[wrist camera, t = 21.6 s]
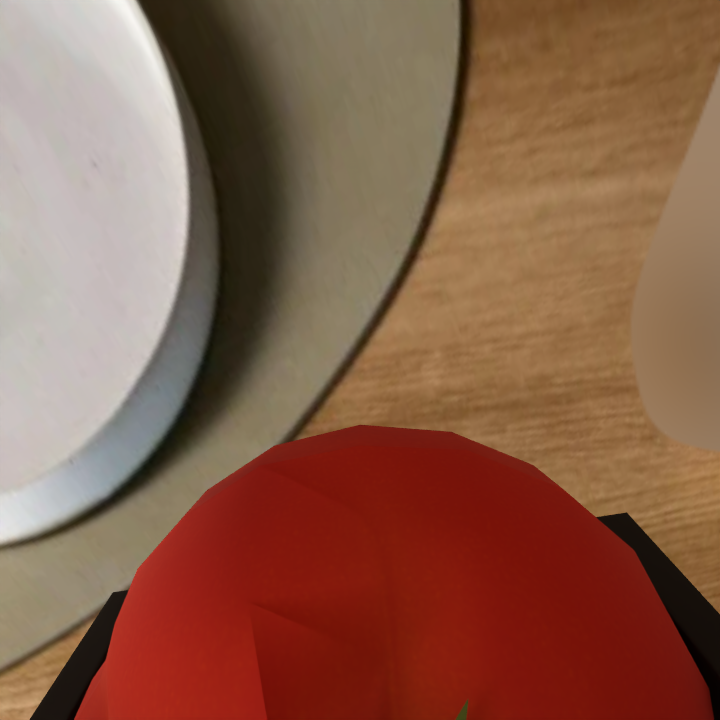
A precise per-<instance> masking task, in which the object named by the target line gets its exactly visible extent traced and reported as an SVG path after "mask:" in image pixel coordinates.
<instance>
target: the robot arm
mask: <svg viewBox="0 0 720 720" xmlns="http://www.w3.org/2000/svg"><path fill="white" fill-rule="evenodd" d="M596 518H597V519H598V520H600V521H601V522H602V523H603V524H604V525H605V526H607V527H608V528H609V529H610V530H611V531H612V532H614V533H615V534H616V535H617V536H618V537H619V538H621V539H622V540H623V541H624V542H625V543H626V544H628V545H629V546H630V547H631V548H632V549H633V550H634V551H635V553H636V554H637V556H638V558H639V560H640V562H641V564H642V566H643V567H644V569H645V571H646V573H647V575H648V577H649V579H650V580H651V582H652V584H653V586H654V588H655V590H656V591H657V593H658V595H659V597H660V599H661V601H662V603H663V604H664V606H665V608H666V610H667V612H668V614H669V616H670V617H671V619H672V621H673V623H674V625H675V627H676V628H677V630H678V632H679V634H680V636H681V638H682V640H683V641H684V643H685V645H686V647H687V649H688V651H689V653H690V654H691V656H692V658H693V660H694V662H695V664H696V665H697V667H698V669H699V671H700V673H701V675H702V677H703V678H704V680H705V682H706V684H707V686H708V688H709V691H710V697H711V703H712V709H713V715H714V720H720V614H719V613H718V612H717V611H716V610H715V609H714V608H713V607H712V605H711V604H710V603H709V602H708V601H707V600H706V599H705V598H704V597H703V596H702V594H701V593H700V592H699V591H698V590H697V589H696V588H695V587H694V586H693V585H692V584H691V582H690V581H689V580H688V579H687V578H686V577H685V576H684V575H683V574H682V573H681V571H680V570H679V569H678V568H677V567H676V566H675V565H674V564H673V563H672V562H671V561H670V559H669V558H668V557H667V556H666V555H665V554H664V553H663V552H662V551H661V550H660V549H659V547H658V546H657V545H656V544H655V543H654V542H653V541H652V540H651V539H650V538H649V536H648V535H647V534H646V533H645V532H644V531H643V530H642V529H641V528H640V527H639V526H638V524H637V523H636V522H635V521H634V520H633V519H632V518H631V517H630V516H629V515H628V514H627V513H621V514H614V515H608V516H601V517H596ZM128 591H129V590H126V591H119V592H113V593H112V595H111V596H110V598H109V599H108V601H107V602H106V604H105V605H104V607H103V608H102V610H101V611H100V613H99V615H98V616H97V618H96V619H95V621H94V622H93V624H92V625H91V627H90V628H89V630H88V631H87V633H86V634H85V636H84V637H83V639H82V640H81V642H80V643H79V645H78V647H77V648H76V650H75V651H74V653H73V654H72V656H71V657H70V659H69V660H68V662H67V663H66V665H65V666H64V668H63V669H62V671H61V672H60V674H59V676H58V677H57V679H56V680H55V682H54V683H53V685H52V686H51V688H50V689H49V691H48V692H47V694H46V695H45V697H44V698H43V700H42V701H41V703H40V704H39V706H38V708H37V709H36V711H35V712H34V714H33V715H32V717H31V718H30V720H74V719H75V716H76V714H77V712H78V710H79V708H80V705H81V703H82V701H83V699H84V697H85V694H86V692H87V690H88V688H89V685H90V683H91V681H92V679H93V677H94V676H95V675H96V673H97V672H98V670H99V669H100V667H101V666H102V665H103V663H104V662H105V660H106V657H107V653H108V649H109V645H110V641H111V637H112V633H113V629H114V625H115V622H116V619H117V617H118V615H119V612H120V610H121V608H122V605H123V603H124V600H125V598H126V596H127V593H128Z"/></svg>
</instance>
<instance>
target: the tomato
mask: <svg viewBox="0 0 720 720" xmlns="http://www.w3.org/2000/svg"><path fill="white" fill-rule="evenodd" d="M74 720H714V715H713V709H712V703H711V697H710V691H709V688H708V686H707V684H706V682H705V680H704V678H703V677H702V675H701V673H700V671H699V669H698V667H697V665H696V664H695V662H694V660H693V658H692V656H691V654H690V653H689V651H688V649H687V647H686V645H685V643H684V641H683V640H682V638H681V636H680V634H679V632H678V630H677V628H676V627H675V625H674V623H673V621H672V619H671V617H670V616H669V614H668V612H667V610H666V608H665V606H664V604H663V603H662V601H661V599H660V597H659V595H658V593H657V591H656V590H655V588H654V586H653V584H652V582H651V580H650V579H649V577H648V575H647V573H646V571H645V569H644V567H643V566H642V564H641V562H640V560H639V558H638V556H637V554H636V553H635V551H634V550H633V549H632V548H631V547H630V546H629V545H628V544H626V543H625V542H624V541H623V540H622V539H621V538H619V537H618V536H617V535H616V534H615V533H614V532H612V531H611V530H610V529H609V528H608V527H607V526H605V525H604V524H603V523H602V522H601V521H600V520H598V519H597V518H596V517H595V516H594V515H593V514H591V513H590V512H589V511H588V510H587V509H586V508H584V507H583V506H582V505H581V504H580V503H579V502H577V501H576V500H575V499H574V498H573V497H572V496H570V495H569V494H568V493H567V492H566V491H565V490H563V489H562V488H561V487H560V486H559V485H557V484H556V483H555V482H554V481H552V480H551V479H550V478H549V477H547V476H546V475H545V474H544V473H542V472H541V471H540V470H539V469H537V468H536V467H535V466H534V465H531V464H529V463H526V462H524V461H521V460H519V459H517V458H514V457H512V456H509V455H507V454H504V453H502V452H499V451H497V450H494V449H492V448H490V447H487V446H485V445H482V444H480V443H477V442H475V441H472V440H470V439H467V438H465V437H462V436H460V435H458V434H455V433H453V432H445V431H432V430H420V429H407V428H394V427H381V426H369V425H358V426H353V427H349V428H345V429H341V430H337V431H333V432H329V433H325V434H321V435H317V436H312V437H308V438H304V439H300V440H296V441H292V442H288V443H284V444H280V445H276V446H273V447H272V448H270V449H269V450H267V451H266V452H264V453H263V454H261V455H260V456H258V457H257V458H255V459H254V460H252V461H251V462H249V463H248V464H246V465H245V466H243V467H241V468H240V469H238V470H237V471H235V472H234V473H232V474H231V475H229V476H228V477H226V478H225V479H223V480H222V481H220V482H219V483H217V484H216V485H214V486H213V487H211V488H210V489H208V490H207V491H206V492H205V493H204V494H203V495H202V496H201V498H200V499H199V500H198V501H197V502H196V503H195V504H194V505H193V507H192V508H191V509H190V510H189V511H188V512H187V513H186V514H185V516H184V517H183V518H182V519H181V520H180V521H179V522H178V524H177V525H176V526H175V527H174V528H173V529H172V530H171V532H170V533H169V534H168V535H167V536H166V537H165V538H164V539H163V541H162V542H161V543H160V544H159V545H158V546H157V547H156V549H155V550H154V551H153V552H152V553H151V554H150V555H149V557H148V558H147V559H146V560H145V561H144V562H143V563H142V565H141V566H140V567H139V568H138V569H137V572H136V574H135V576H134V579H133V581H132V584H131V586H130V588H129V591H128V593H127V596H126V598H125V600H124V603H123V605H122V608H121V610H120V612H119V615H118V617H117V619H116V622H115V625H114V629H113V633H112V637H111V641H110V645H109V649H108V653H107V657H106V660H105V662H104V663H103V665H102V666H101V667H100V669H99V670H98V672H97V673H96V675H95V676H94V677H93V679H92V681H91V683H90V685H89V688H88V690H87V692H86V694H85V697H84V699H83V701H82V703H81V705H80V708H79V710H78V712H77V714H76V716H75V719H74Z"/></svg>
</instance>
